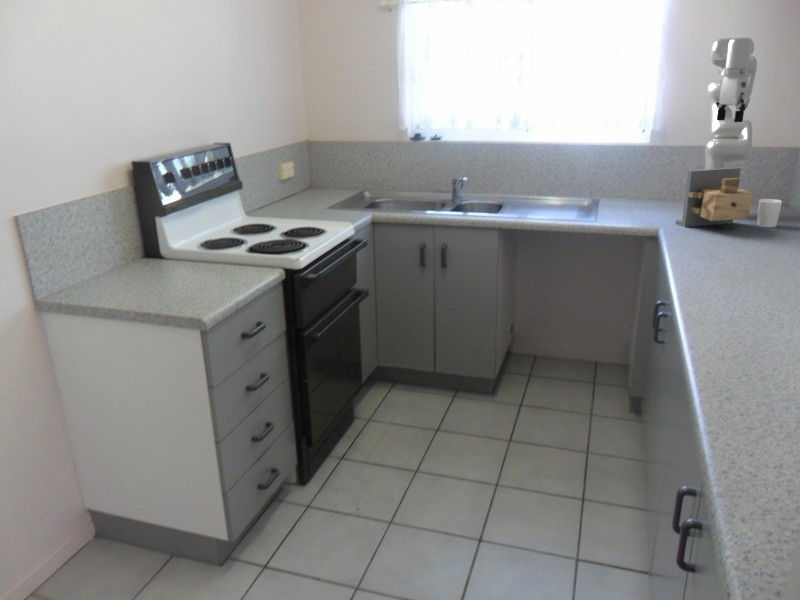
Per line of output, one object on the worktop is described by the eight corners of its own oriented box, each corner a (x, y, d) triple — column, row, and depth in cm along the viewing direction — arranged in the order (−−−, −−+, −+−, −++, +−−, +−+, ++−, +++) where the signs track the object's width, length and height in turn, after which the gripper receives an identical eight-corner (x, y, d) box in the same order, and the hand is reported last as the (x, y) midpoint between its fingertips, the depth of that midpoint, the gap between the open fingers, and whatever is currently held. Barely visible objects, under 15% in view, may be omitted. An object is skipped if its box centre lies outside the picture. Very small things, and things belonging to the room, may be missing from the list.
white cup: (755, 227, 259) (759, 201, 256) (755, 222, 265) (759, 198, 262) (777, 228, 255) (782, 203, 252) (777, 224, 262) (781, 199, 259)
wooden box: (693, 213, 260) (699, 175, 254) (728, 210, 263) (735, 173, 258) (713, 221, 249) (720, 182, 243) (749, 218, 252) (757, 180, 247)
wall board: (675, 223, 267) (681, 169, 260) (722, 220, 271) (730, 166, 264) (691, 229, 257) (698, 172, 250) (740, 225, 262) (748, 169, 255)
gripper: (761, 73, 237) (754, 122, 243) (728, 73, 253) (722, 119, 259) (743, 73, 236) (736, 123, 241) (711, 73, 252) (705, 120, 257)
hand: (729, 121), depth 250 cm, fingers open, 9 cm apart
